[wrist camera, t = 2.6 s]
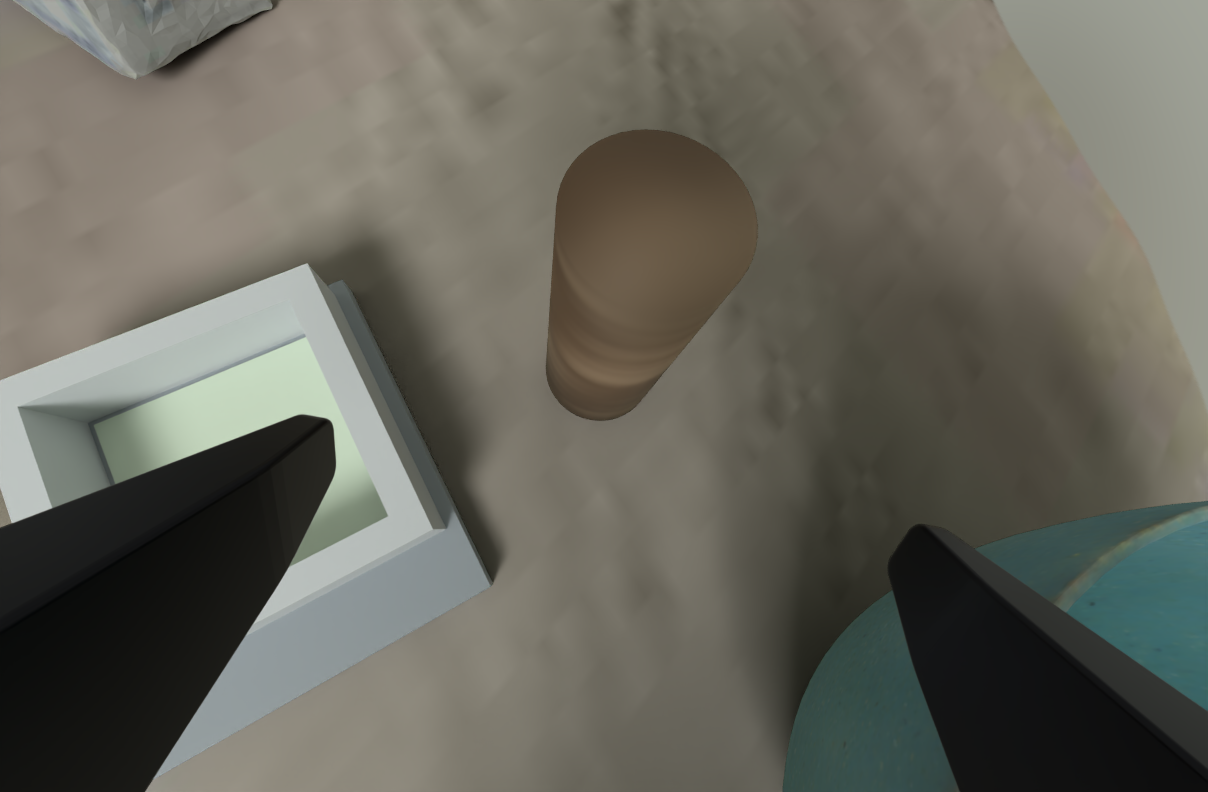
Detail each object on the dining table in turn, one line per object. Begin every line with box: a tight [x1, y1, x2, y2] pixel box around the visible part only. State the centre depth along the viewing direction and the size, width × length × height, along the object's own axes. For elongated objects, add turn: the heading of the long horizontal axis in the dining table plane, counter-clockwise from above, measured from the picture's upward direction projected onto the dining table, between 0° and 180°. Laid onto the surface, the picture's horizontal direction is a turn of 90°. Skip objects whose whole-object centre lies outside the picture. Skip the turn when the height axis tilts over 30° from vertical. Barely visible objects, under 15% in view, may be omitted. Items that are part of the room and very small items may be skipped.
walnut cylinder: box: [546, 130, 758, 421], centre depth 16 cm, size 4×4×11 cm
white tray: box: [0, 263, 493, 779], centre depth 17 cm, size 13×12×4 cm
